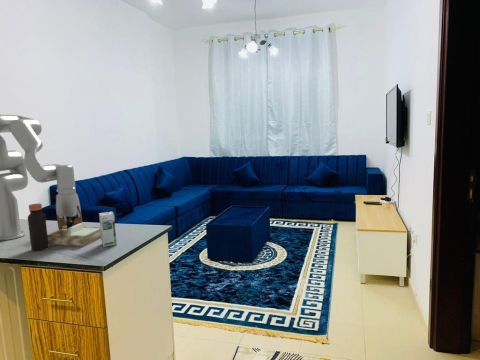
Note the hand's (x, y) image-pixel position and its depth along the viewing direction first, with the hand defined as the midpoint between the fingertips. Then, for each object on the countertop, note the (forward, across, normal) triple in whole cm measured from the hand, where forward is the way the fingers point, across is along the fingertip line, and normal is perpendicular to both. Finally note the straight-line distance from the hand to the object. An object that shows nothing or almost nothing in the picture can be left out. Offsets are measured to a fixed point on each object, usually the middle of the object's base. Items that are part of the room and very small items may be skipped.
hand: (71, 229), depth 174 cm
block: (+5, -12, +15) cm, 20 cm away
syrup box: (+6, +22, -3) cm, 23 cm away
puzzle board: (+5, +1, 0) cm, 5 cm away
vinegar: (+5, -6, -13) cm, 15 cm away
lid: (+1, +6, 0) cm, 6 cm away
